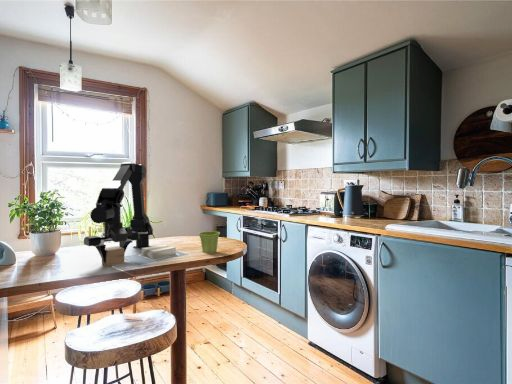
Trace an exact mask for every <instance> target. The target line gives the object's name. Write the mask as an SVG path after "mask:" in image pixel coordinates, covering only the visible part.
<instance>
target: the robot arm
mask: <svg viewBox="0 0 512 384" xmlns="http://www.w3.org/2000/svg"><path fill="white" fill-rule="evenodd" d="M146 174H147V168H146V166H145V165H144V164H142V163H141V164H139V163H137V164H136V163H134V162H132V161H131V162H122V163H120V167H119V169H118V171H117V172H116V174H115V175H114V177H113V179H112V180H111V182H109V183H107V184H105V185H104V186H103V187H102V188H101V190H100V191H99V194H98V197H97V200H96V203H95V207H94V208H93V209H92V210H91V212H90V215H89V216H90V219H91V221H92V222H93V223H95V224H102V226H104V227H103V229H104V230H103V231H104V233H102V236H98V235H89V236H85V237H84V239H83V245H84V246H88V247H95V249H96V250H97V251H98V253H99V255H100V258H101V261H102V260H103V262H106V255H105V248H107V247H106V246H107V245H106V244H105V242H114V243H119V247H122V248H124V255H125V254H126V250H127V249H128V246H129V245H130V244H132V243H133V241H135V246H132V248H133V249H142V248H145V247H151V246H152V245H150V238H149V237H150V236H152V235H153V233H154V229H153V226H152V224H151V222H150V219H149V217H148V215H147V214H146V212H145V210H146V209H145V199H144V188H143V186H144V185H143V182H144V181H145V179H146V177H147V176H146ZM127 182H129V183H130V184H131V195H132V206H133V216H132V219H130V221H129V222H130V226H126V227H123V222H122V221H121V217H122V215H121V208H122V207H123V204H121V203H122V201H123V199H124V198H125V191H124V189H125V186H126V184H127Z"/></svg>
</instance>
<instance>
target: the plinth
mask: <svg viewBox="0 0 512 384" xmlns="http://www.w3.org/2000/svg"><path fill="white" fill-rule="evenodd" d="M150 246H151V247H145V248H141V253H142V255H143V256H146V257H149V258H152V259H157V258H162V257H167V256H172V255H176V251H177V250H176V247H173V246H171V245H168V244H167V245H166V244H159V245H153V246H152V245H150Z"/></svg>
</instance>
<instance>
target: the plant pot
mask: <svg viewBox="0 0 512 384" xmlns="http://www.w3.org/2000/svg"><path fill="white" fill-rule="evenodd" d="M220 234H221V232H220V231H211V230H210V231H201V232H198V236H199V239H200V242H201V243H200V244H201V250H202V253H204V254H205V253H207V254H208V253H209V254H210V253H217V252H216V251H217V250H218V243H219V242H218V241H219V236H220Z"/></svg>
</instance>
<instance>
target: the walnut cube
mask: <svg viewBox="0 0 512 384" xmlns="http://www.w3.org/2000/svg"><path fill="white" fill-rule="evenodd" d="M105 255H106V262H103V260H102V259H101V264H102V265H103V266H105V267H106V268H107V267H108V268H110V267H113V265H118V264H121V263H122V264H123V263H125V259H124V256H125V254H124V248H122V247H120V246H118V245H116V246H110V247H105Z"/></svg>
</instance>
